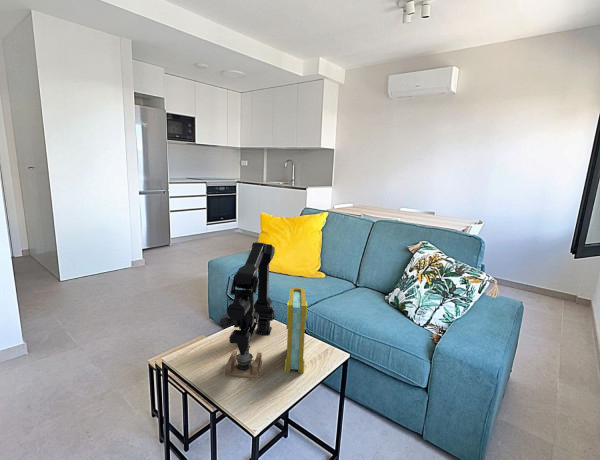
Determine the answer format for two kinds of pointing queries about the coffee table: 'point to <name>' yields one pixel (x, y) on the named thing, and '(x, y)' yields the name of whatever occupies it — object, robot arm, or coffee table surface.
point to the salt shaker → (244, 360)
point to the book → (296, 330)
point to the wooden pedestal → (234, 371)
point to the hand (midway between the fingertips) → (244, 349)
